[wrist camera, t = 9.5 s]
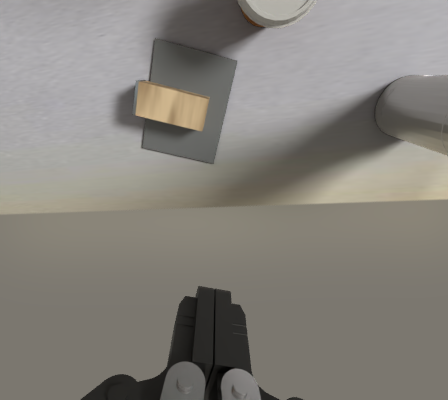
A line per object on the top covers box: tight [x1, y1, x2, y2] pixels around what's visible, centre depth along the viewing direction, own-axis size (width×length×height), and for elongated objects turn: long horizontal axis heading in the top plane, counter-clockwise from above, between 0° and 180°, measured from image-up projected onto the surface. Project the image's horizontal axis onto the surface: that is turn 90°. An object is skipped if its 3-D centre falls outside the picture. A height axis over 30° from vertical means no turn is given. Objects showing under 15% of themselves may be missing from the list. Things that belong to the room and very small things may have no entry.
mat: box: [143, 38, 237, 163], centre depth 42 cm, size 12×16×1 cm
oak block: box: [133, 80, 210, 131], centre depth 39 cm, size 4×4×10 cm
